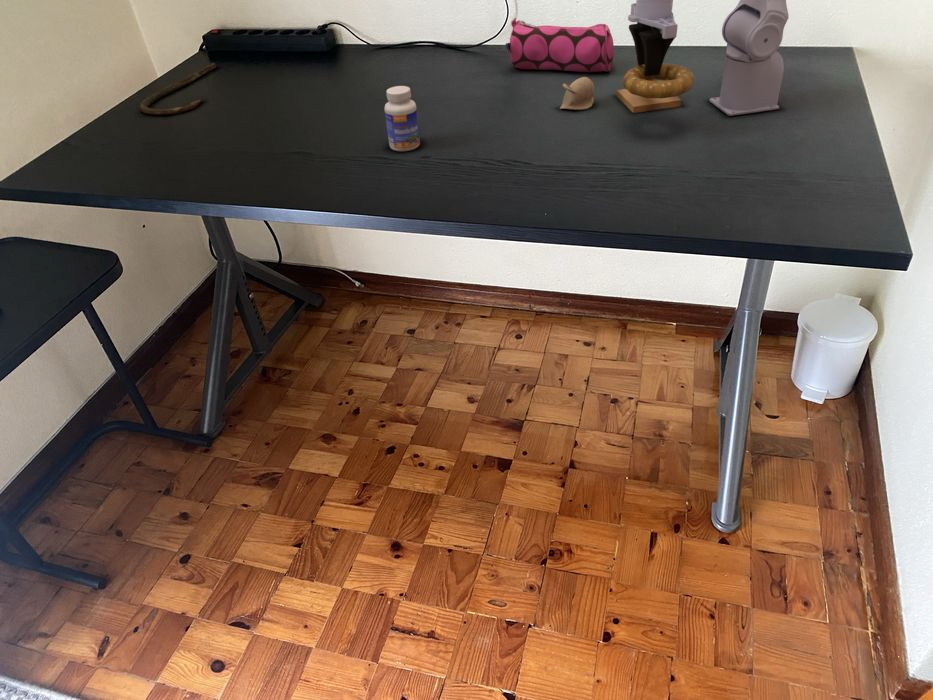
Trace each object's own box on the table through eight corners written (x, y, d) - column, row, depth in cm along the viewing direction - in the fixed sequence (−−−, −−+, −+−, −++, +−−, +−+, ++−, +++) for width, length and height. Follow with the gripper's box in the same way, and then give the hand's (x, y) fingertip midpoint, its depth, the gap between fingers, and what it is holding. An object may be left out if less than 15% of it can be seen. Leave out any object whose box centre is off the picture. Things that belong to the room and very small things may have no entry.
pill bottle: (396, 155, 124) (389, 98, 118) (384, 144, 128) (376, 88, 122) (425, 147, 126) (419, 90, 120) (413, 137, 130) (406, 81, 123)
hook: (135, 119, 146) (132, 112, 145) (162, 73, 169) (160, 66, 168) (198, 113, 147) (196, 105, 146) (217, 67, 170) (215, 61, 169)
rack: (661, 90, 139) (664, 56, 135) (680, 106, 132) (684, 71, 128) (616, 96, 138) (618, 62, 134) (633, 113, 131) (635, 78, 127)
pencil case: (505, 76, 151) (503, 25, 145) (516, 61, 158) (515, 11, 152) (608, 79, 146) (611, 26, 139) (615, 63, 153) (618, 12, 146)
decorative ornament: (600, 103, 136) (602, 74, 133) (568, 116, 132) (569, 86, 129) (584, 98, 138) (585, 69, 135) (553, 111, 135) (553, 81, 131)
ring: (675, 73, 126) (677, 57, 124) (704, 94, 117) (706, 78, 115) (613, 82, 124) (614, 66, 123) (637, 104, 116) (639, 88, 114)
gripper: (615, -23, 120) (611, 61, 128) (649, -3, 109) (641, 88, 117) (656, -28, 121) (649, 56, 129) (694, -9, 109) (683, 82, 118)
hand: (648, 71), depth 123 cm, fingers closed on ring, 3 cm apart
